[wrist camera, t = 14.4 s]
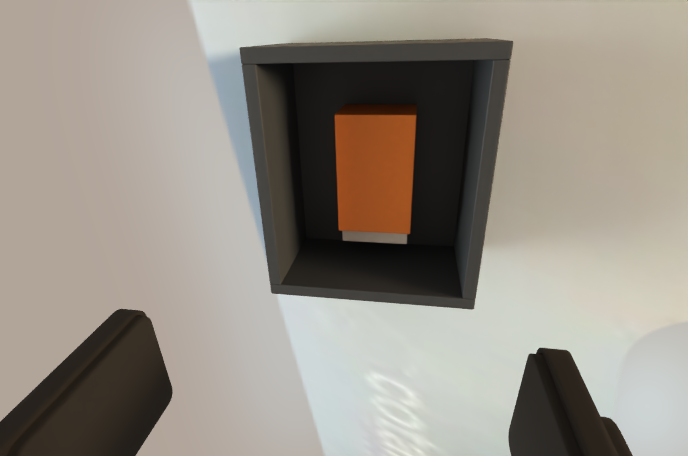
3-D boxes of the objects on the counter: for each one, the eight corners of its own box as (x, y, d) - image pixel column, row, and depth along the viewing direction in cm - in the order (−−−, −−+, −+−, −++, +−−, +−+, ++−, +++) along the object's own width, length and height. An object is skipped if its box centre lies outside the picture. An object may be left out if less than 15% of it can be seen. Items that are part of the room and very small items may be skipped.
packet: (344, 104, 28) (334, 114, 24) (416, 104, 27) (416, 114, 24) (347, 219, 32) (338, 243, 28) (410, 222, 31) (409, 247, 28)
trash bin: (283, 43, 28) (239, 47, 21) (487, 38, 25) (513, 41, 18) (300, 241, 34) (271, 293, 28) (462, 250, 32) (474, 310, 25)
